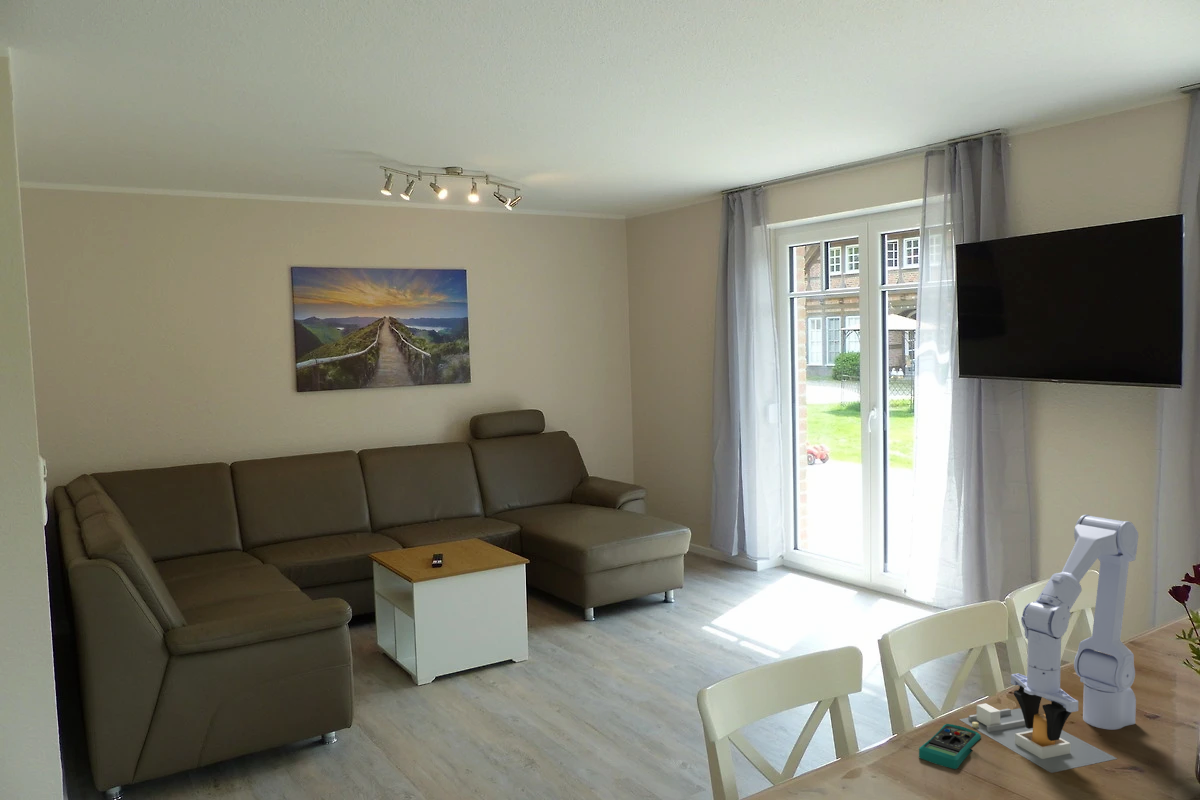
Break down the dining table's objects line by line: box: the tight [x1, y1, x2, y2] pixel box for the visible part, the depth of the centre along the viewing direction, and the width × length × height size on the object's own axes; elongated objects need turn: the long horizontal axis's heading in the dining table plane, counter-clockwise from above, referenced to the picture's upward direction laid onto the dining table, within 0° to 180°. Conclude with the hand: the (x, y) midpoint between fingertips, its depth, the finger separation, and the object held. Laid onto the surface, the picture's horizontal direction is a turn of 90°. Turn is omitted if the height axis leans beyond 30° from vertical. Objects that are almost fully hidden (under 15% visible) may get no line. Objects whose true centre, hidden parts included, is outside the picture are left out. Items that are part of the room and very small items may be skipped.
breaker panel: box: [958, 707, 1118, 774], centre depth 172 cm, size 16×24×3 cm, turn 18°
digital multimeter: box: [918, 723, 982, 770], centre depth 170 cm, size 7×15×3 cm, turn 138°
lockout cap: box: [1032, 713, 1055, 747], centre depth 167 cm, size 4×4×6 cm
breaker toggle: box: [976, 702, 1000, 726], centre depth 178 cm, size 2×4×3 cm, turn 18°
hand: (1042, 733), depth 167 cm, fingers open, 5 cm apart
